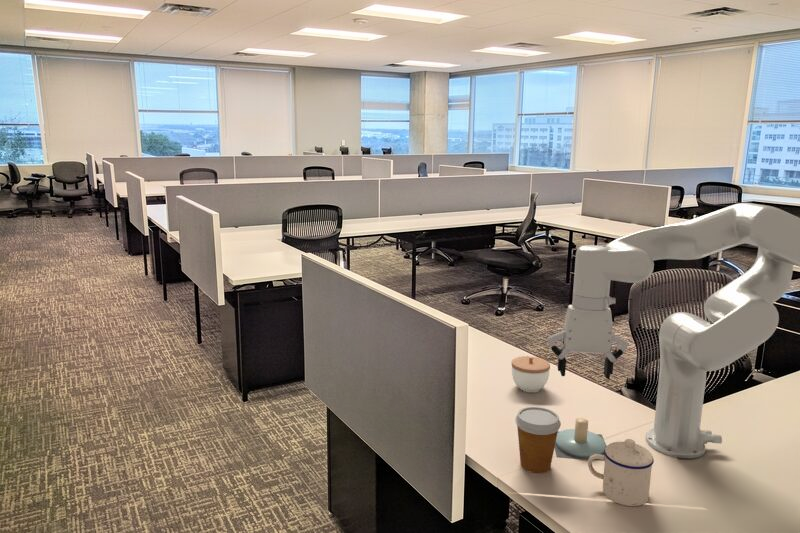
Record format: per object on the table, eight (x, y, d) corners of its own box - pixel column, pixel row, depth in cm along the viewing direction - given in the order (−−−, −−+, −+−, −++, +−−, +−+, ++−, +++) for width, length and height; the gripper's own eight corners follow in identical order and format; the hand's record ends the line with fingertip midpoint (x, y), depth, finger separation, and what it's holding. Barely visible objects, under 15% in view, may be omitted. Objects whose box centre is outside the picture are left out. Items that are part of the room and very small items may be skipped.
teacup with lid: (650, 487, 117) (655, 435, 115) (649, 512, 109) (654, 457, 107) (588, 473, 122) (592, 423, 120) (583, 497, 114) (587, 443, 112)
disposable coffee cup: (559, 481, 119) (562, 428, 117) (512, 476, 121) (515, 423, 119) (556, 457, 129) (559, 407, 126) (513, 452, 130) (515, 403, 128)
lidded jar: (503, 383, 169) (505, 352, 167) (536, 378, 172) (537, 349, 170) (522, 398, 159) (523, 366, 157) (556, 393, 162) (558, 361, 160)
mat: (601, 436, 138) (601, 434, 138) (612, 462, 126) (612, 461, 126) (550, 432, 140) (550, 430, 140) (556, 458, 128) (556, 456, 128)
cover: (599, 435, 138) (601, 411, 136) (609, 459, 127) (612, 434, 126) (552, 432, 139) (554, 408, 138) (558, 456, 128) (560, 430, 127)
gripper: (627, 299, 128) (620, 371, 132) (547, 296, 131) (543, 366, 134) (635, 308, 121) (628, 384, 125) (551, 304, 123) (546, 379, 127)
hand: (584, 375), depth 129 cm, fingers open, 9 cm apart
